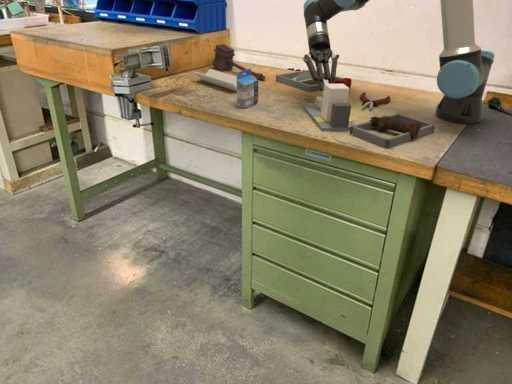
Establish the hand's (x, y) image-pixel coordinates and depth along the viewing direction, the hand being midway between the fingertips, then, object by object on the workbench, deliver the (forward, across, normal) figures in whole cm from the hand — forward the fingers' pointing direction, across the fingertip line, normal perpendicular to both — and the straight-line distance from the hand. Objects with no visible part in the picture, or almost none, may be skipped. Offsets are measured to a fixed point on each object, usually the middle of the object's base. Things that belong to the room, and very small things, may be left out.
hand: (327, 98), depth 142 cm
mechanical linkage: (-15, -16, -24) cm, 33 cm away
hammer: (-39, +22, -48) cm, 65 cm away
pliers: (-4, -21, -14) cm, 25 cm away
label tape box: (-5, +26, -14) cm, 29 cm away
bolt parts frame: (+17, -16, +9) cm, 25 cm away
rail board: (+6, 0, -2) cm, 6 cm away
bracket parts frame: (-27, -7, -35) cm, 45 cm away
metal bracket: (-27, -5, -36) cm, 46 cm away
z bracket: (-25, +31, -34) cm, 52 cm away
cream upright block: (+8, 0, +2) cm, 8 cm away
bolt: (+17, -16, +9) cm, 25 cm away
